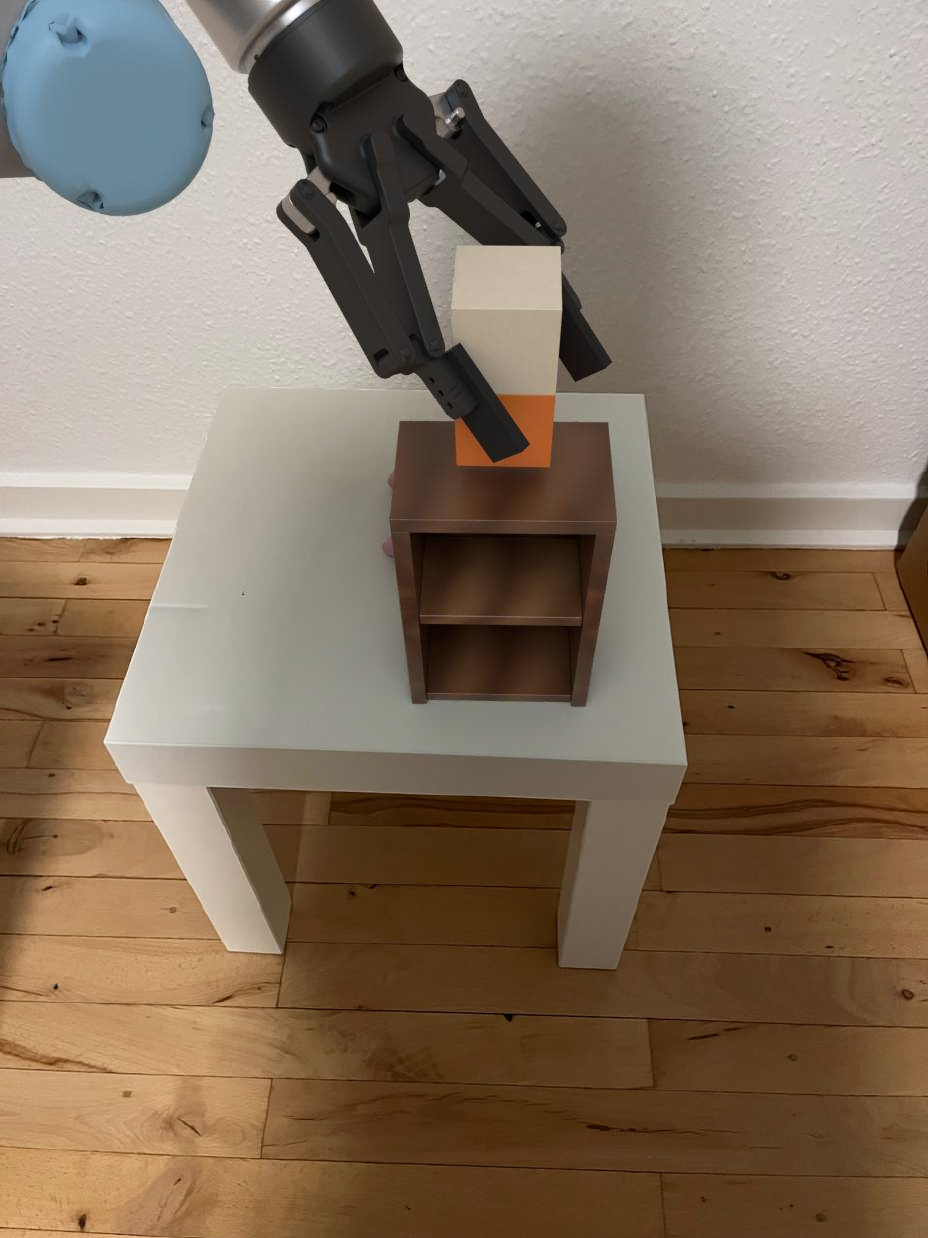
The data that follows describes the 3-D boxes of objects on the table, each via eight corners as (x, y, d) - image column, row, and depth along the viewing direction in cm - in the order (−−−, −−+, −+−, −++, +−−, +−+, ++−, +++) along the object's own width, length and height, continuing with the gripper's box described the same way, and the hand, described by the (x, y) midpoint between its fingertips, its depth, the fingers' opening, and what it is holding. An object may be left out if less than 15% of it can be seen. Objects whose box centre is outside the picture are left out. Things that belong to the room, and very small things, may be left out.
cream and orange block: (456, 465, 55) (450, 307, 46) (461, 403, 59) (456, 244, 50) (550, 467, 55) (562, 309, 46) (549, 404, 58) (560, 245, 49)
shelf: (411, 704, 74) (388, 519, 57) (418, 614, 80) (399, 420, 62) (585, 707, 74) (617, 521, 56) (580, 616, 79) (608, 421, 62)
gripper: (165, 66, 38) (485, 507, 45) (466, -86, 47) (690, 298, 54) (121, 157, 44) (408, 532, 51) (394, 7, 53) (604, 340, 61)
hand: (553, 411), depth 53 cm, fingers closed on cream and orange block, 8 cm apart
